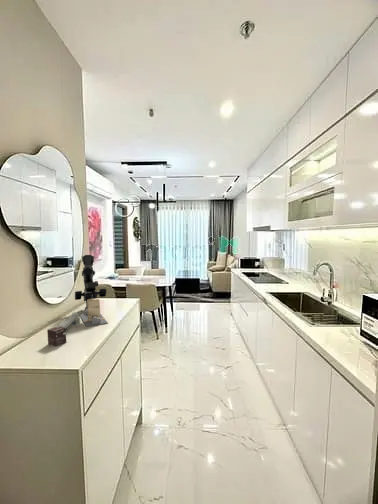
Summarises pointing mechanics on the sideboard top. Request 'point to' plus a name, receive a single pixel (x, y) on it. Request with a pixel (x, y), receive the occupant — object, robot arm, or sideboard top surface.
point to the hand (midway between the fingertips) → (92, 305)
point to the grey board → (93, 320)
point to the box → (56, 336)
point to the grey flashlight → (71, 320)
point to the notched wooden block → (93, 308)
